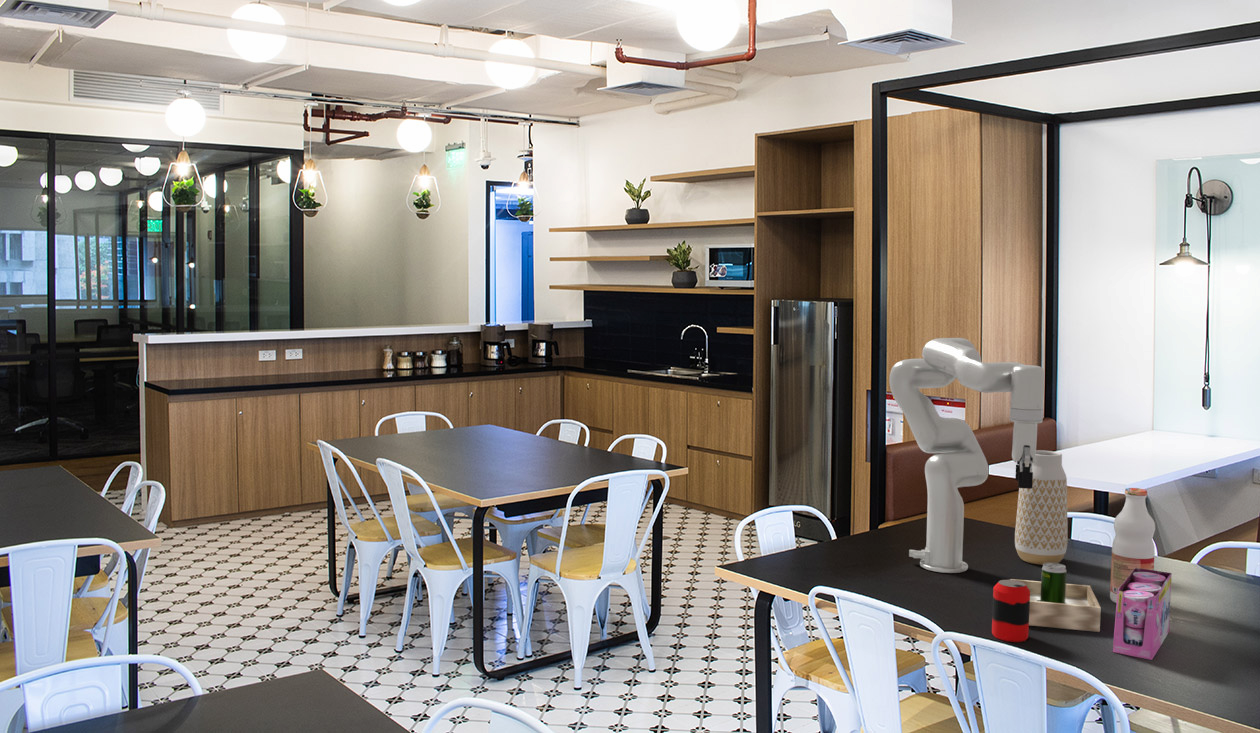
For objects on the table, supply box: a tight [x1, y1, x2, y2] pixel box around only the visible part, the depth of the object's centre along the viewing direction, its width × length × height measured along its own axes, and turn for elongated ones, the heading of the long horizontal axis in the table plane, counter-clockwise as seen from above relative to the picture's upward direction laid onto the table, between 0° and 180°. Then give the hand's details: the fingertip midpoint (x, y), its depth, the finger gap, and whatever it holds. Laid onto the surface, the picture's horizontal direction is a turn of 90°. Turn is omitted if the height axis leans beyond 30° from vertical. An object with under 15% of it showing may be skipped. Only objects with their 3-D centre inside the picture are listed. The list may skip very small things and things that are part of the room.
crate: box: [1009, 578, 1102, 633], centre depth 245 cm, size 18×18×6 cm
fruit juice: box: [1109, 487, 1156, 604], centre depth 255 cm, size 9×9×28 cm
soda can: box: [991, 579, 1030, 643], centre depth 230 cm, size 8×8×12 cm
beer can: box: [1040, 563, 1067, 604], centre depth 244 cm, size 5×5×12 cm
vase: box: [1014, 449, 1069, 566], centre depth 292 cm, size 14×14×31 cm
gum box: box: [1112, 568, 1172, 661], centre depth 226 cm, size 24×8×14 cm, turn 145°
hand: (1023, 484), depth 257 cm, fingers open, 9 cm apart
